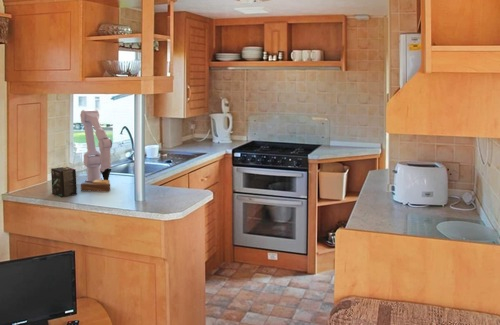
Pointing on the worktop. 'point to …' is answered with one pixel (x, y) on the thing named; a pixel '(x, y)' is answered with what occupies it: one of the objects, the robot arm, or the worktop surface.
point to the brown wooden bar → (95, 187)
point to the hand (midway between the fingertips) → (106, 181)
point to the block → (102, 181)
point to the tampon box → (63, 181)
